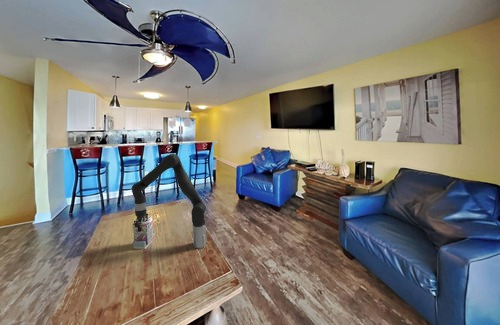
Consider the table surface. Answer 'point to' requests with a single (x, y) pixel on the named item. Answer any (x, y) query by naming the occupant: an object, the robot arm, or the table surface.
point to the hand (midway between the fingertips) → (142, 229)
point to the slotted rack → (140, 244)
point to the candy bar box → (143, 232)
